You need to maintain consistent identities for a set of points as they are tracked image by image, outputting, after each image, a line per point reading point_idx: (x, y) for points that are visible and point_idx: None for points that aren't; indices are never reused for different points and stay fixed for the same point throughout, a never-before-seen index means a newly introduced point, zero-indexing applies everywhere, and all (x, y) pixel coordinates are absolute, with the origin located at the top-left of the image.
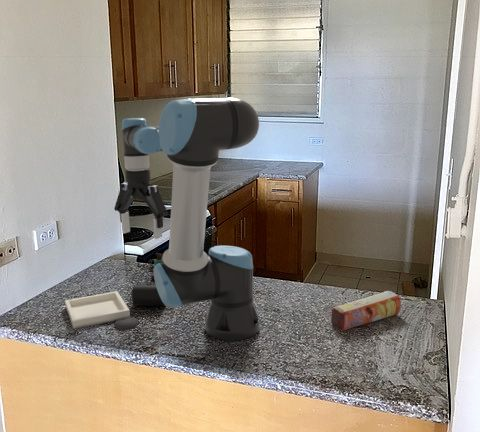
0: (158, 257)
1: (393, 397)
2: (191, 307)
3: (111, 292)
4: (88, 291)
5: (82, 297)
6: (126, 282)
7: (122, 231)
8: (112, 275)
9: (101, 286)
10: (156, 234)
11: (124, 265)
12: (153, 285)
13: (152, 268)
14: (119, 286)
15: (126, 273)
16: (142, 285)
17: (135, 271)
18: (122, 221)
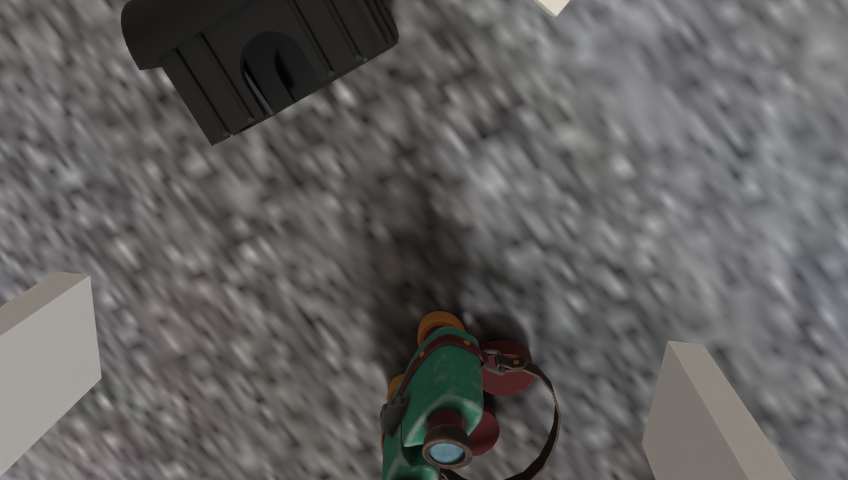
0: (441, 423)
1: None
2: (67, 94)
3: None
4: (826, 24)
5: None
6: (652, 256)
7: (711, 358)
8: (815, 319)
9: (782, 137)
10: (14, 302)
11: (828, 476)
12: (205, 22)
13: (503, 372)
14: (658, 185)
15: (739, 375)
16: (311, 19)
17: None
18: (765, 469)
